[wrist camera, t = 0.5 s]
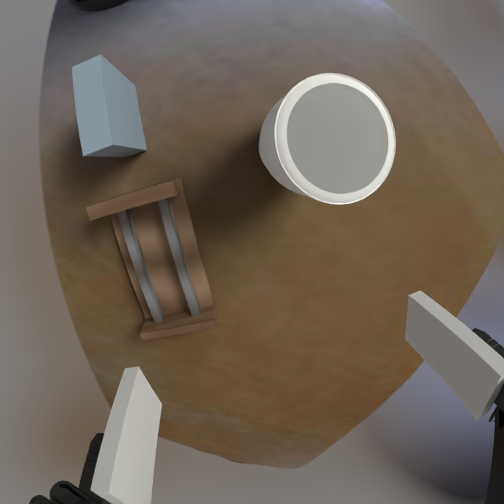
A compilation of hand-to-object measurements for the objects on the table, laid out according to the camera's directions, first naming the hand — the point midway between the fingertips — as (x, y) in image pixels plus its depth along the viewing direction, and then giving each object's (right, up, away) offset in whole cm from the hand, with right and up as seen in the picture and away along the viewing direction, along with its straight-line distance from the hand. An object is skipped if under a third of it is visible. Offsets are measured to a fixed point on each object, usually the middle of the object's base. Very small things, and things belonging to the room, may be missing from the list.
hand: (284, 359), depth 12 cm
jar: (+3, +18, +21) cm, 28 cm away
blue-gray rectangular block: (-17, +21, +18) cm, 32 cm away
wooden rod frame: (-13, +4, +23) cm, 27 cm away
